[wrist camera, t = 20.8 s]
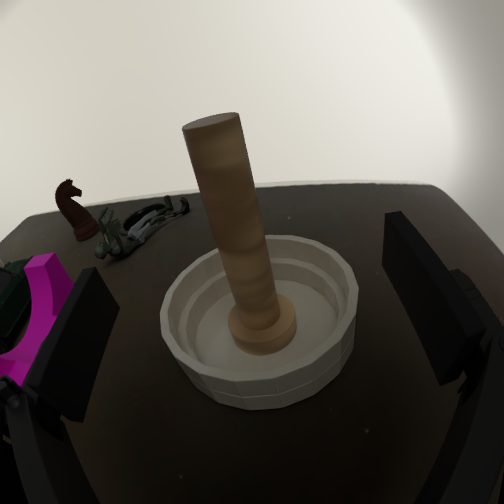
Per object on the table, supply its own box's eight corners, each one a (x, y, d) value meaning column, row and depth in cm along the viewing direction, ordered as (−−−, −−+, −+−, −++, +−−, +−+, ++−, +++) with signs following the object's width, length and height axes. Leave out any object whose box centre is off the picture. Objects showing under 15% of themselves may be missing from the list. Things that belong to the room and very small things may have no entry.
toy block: (49, 433, 16) (-16, 381, 12) (11, 416, 17) (-43, 367, 13) (105, 306, 28) (70, 249, 24) (66, 307, 29) (33, 256, 25)
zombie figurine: (178, 168, 38) (89, 231, 29) (192, 211, 42) (114, 278, 33) (153, 168, 41) (70, 225, 31) (167, 208, 45) (94, 268, 35)
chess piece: (104, 226, 45) (81, 173, 39) (82, 244, 42) (55, 189, 36) (91, 225, 47) (69, 175, 42) (70, 241, 44) (46, 190, 38)
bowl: (308, 259, 28) (304, 218, 26) (388, 362, 18) (399, 320, 15) (175, 305, 27) (156, 267, 24) (200, 438, 16) (171, 410, 13)
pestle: (282, 298, 24) (244, 104, 15) (307, 340, 20) (274, 112, 12) (226, 318, 23) (161, 128, 15) (242, 365, 19) (161, 143, 11)
